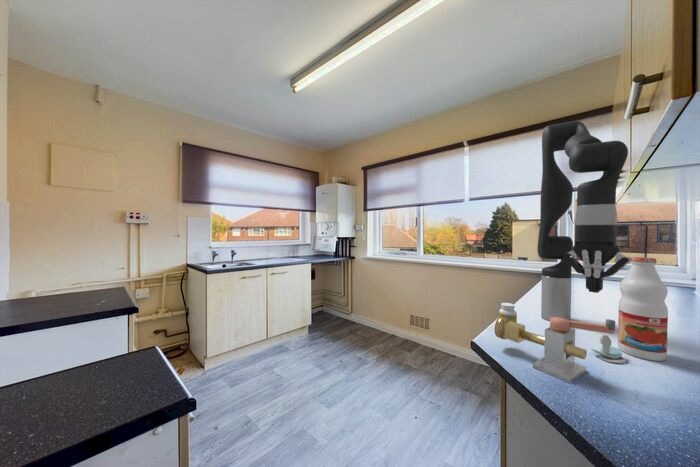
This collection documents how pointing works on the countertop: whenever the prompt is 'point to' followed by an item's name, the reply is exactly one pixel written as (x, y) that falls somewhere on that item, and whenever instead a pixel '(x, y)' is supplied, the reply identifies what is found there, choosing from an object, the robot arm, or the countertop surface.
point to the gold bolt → (528, 336)
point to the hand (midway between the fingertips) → (593, 291)
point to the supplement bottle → (508, 312)
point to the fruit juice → (643, 312)
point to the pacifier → (609, 351)
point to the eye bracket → (559, 356)
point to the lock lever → (581, 325)
